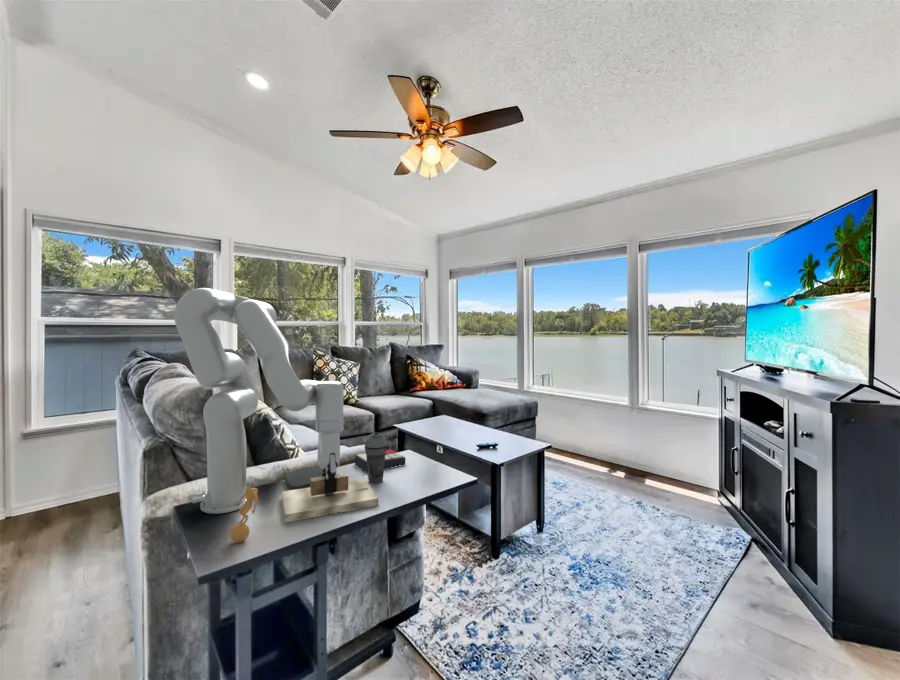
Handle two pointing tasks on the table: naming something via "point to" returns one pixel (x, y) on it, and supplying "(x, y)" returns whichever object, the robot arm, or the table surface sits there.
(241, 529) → the figurine
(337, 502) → the base
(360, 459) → the calculator
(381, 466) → the beverage cup
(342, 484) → the brown wooden block
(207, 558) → the table surface
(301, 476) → the media streaming box
